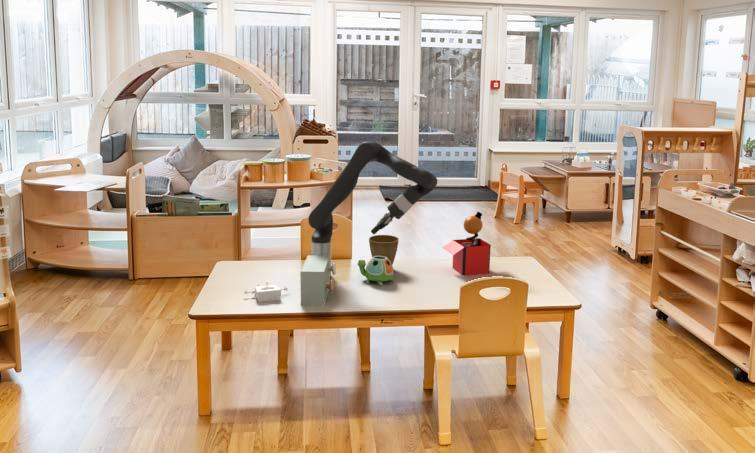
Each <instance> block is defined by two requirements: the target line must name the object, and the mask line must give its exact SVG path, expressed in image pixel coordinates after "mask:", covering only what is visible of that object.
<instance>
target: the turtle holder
mask: <svg viewBox="0 0 755 453" xmlns="http://www.w3.org/2000/svg"><path fill="white" fill-rule="evenodd" d="M356 265H357V266H358V267H359V272H360V275H362V276H364V277H365V278H366V283H367V284H371V281H372V282H373V281H374V282H377V285H379V286H384V283H383V282H387V281H388V282H394V280H393V278H394V266H393V265H392V264H391V262H390V260H389V259H388V258H387V257H384V256H374V257H372V256H371V259H369V260H368V262H367V264H366V260H364V259H359V260H358V262H357V264H356Z"/></svg>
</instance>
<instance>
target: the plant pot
mask: <svg viewBox="0 0 755 453" xmlns="http://www.w3.org/2000/svg"><path fill="white" fill-rule="evenodd" d="M399 239H400V238H399V237H398V236H396V235H389V234H374V235H372V236H370V237H368V243H369V250H370V254H371V258H372V257H374V256H384V257H387V258H388V259H389V260H390V262H391V264H392V266H393V264H394V262H395V259H396V255H397V252H398V248H399V247H398V246H399V241H400V240H399Z"/></svg>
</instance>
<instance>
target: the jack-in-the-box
mask: <svg viewBox="0 0 755 453" xmlns="http://www.w3.org/2000/svg"><path fill="white" fill-rule="evenodd" d="M482 216H483V213H481V212H480V211H477V212H476V214H474V215H470V216H468V217H467V218H465V220H463V228H464V231H465V232H466V233H468V234H470V235H472V236H469V237H466V238H464V239H452V240H451V241H450V242H448V243H447V244H445V245H444V246H442V249H443V250H445V251H446V252H448V253H449V254H451V255H452V270H454V271H456V272H457V273H458V274H459V275H460V276H465V277H466V276H479V274H481V275H489V274H490V266H491V265H490V262H491V247H493V248H495V249H496V247H495V246H493V245H491V244H490V243H488V242H487V241H485V240H483V239H482V238H479V233H480V232H481V230H483V225H484V224H483V221H482V220H481V219H482Z"/></svg>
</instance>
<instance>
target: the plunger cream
mask: <svg viewBox="0 0 755 453" xmlns="http://www.w3.org/2000/svg"><path fill="white" fill-rule="evenodd" d="M328 271H331V275H334V276H336V274H337V263H336V261H335V262H334V261H333V262H332V263H331V266H328Z"/></svg>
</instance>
